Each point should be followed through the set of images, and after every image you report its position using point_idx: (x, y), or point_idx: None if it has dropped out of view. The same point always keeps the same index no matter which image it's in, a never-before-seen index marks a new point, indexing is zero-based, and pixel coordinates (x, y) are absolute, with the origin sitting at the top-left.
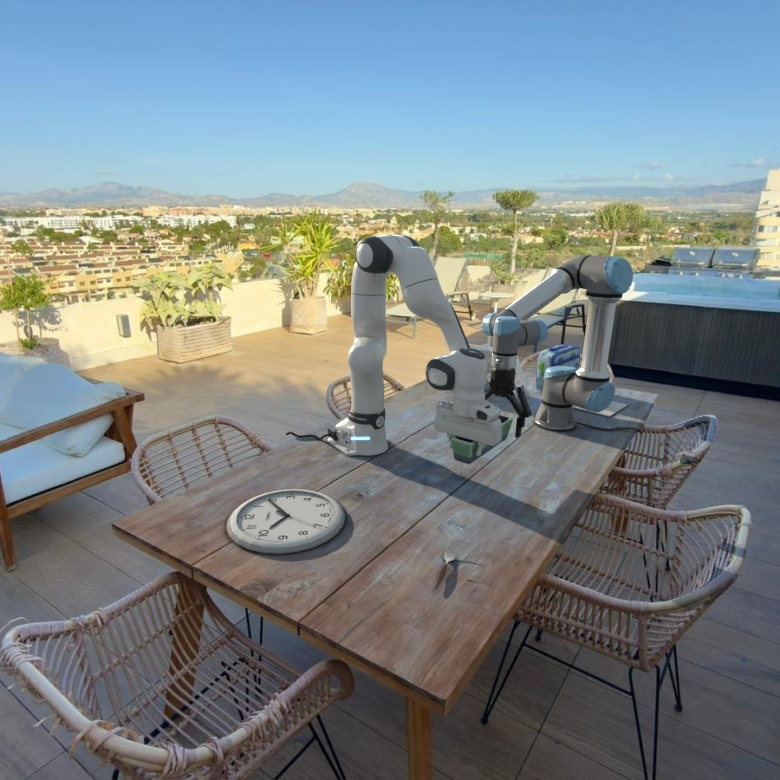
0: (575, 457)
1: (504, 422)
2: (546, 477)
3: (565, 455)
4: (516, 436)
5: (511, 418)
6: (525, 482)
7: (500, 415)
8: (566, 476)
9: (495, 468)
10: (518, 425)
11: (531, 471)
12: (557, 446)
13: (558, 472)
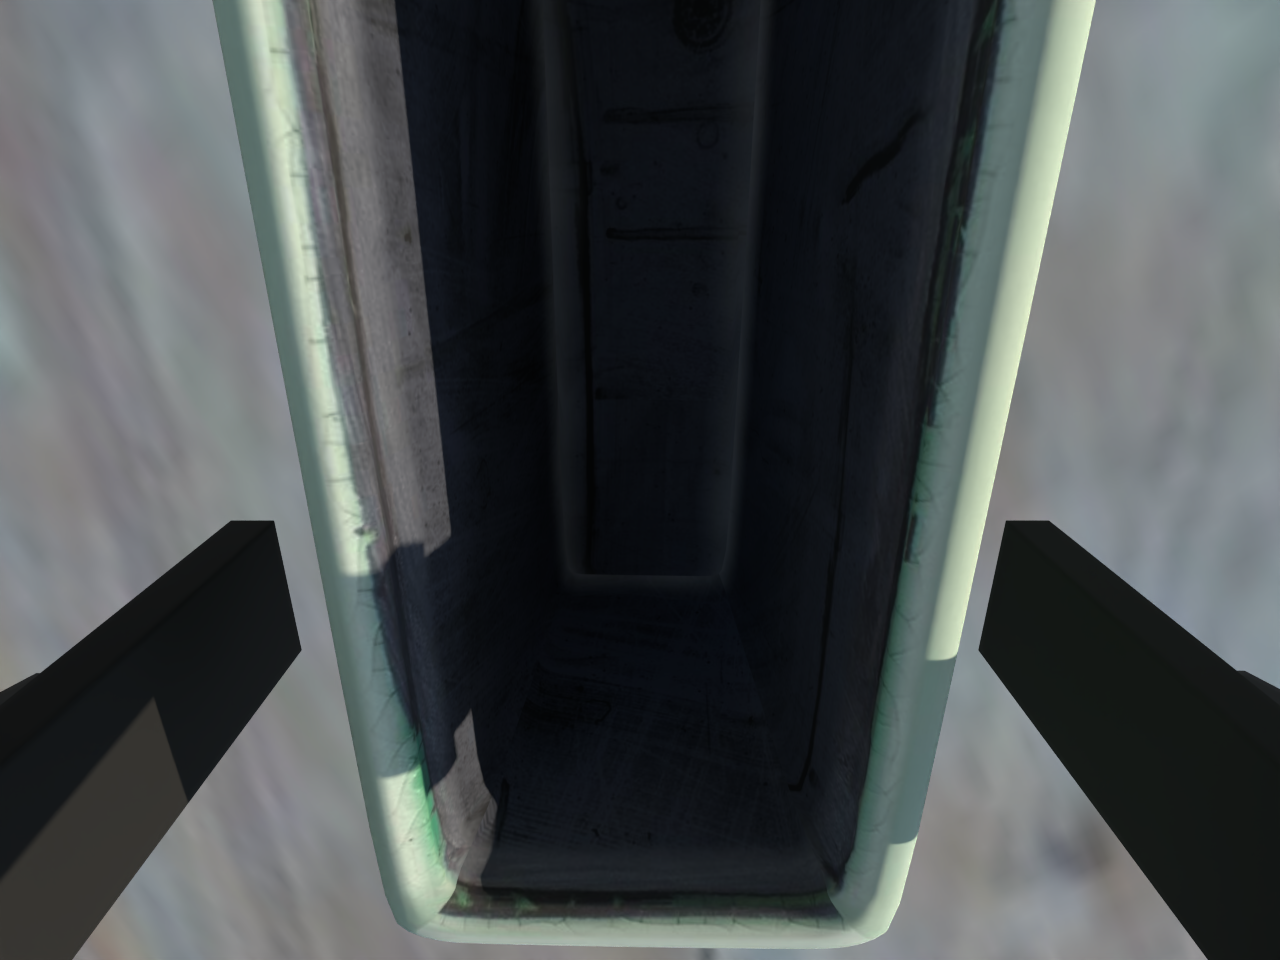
0: (195, 870)
1: (353, 586)
2: (114, 416)
3: (266, 861)
4: (237, 532)
5: (396, 899)
6: (175, 173)
7: (695, 918)
8: (18, 541)
9: None
10: (47, 669)
11: (282, 446)
12: (396, 952)
13: (111, 571)
